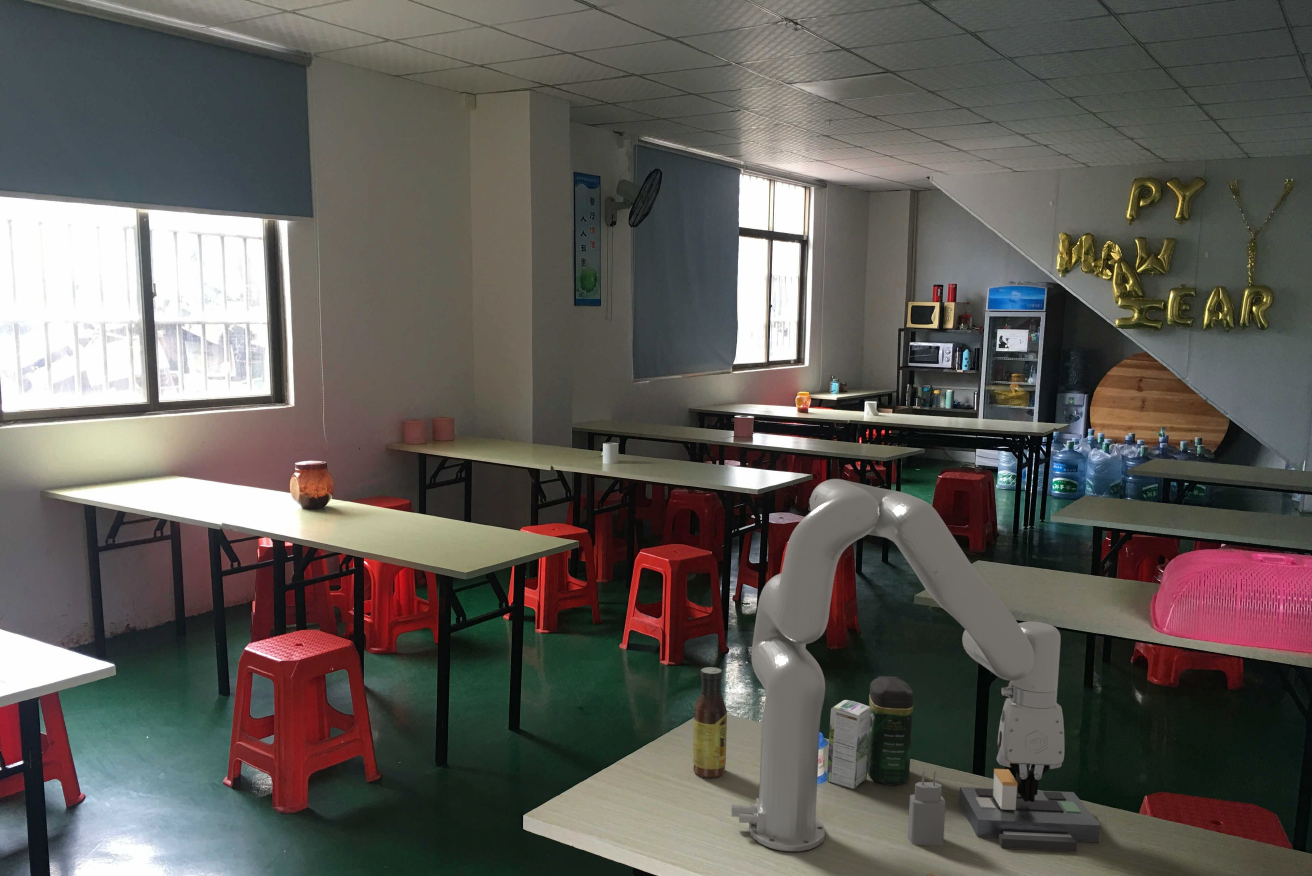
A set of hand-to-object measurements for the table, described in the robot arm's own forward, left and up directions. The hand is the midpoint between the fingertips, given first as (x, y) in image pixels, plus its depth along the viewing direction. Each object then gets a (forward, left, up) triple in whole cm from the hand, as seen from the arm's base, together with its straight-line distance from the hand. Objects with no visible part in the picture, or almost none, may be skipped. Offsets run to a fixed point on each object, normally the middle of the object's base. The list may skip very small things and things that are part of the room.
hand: (1026, 797), depth 169 cm
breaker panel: (0, 0, -4) cm, 4 cm away
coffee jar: (-21, +16, -5) cm, 27 cm away
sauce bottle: (-55, +14, -5) cm, 57 cm away
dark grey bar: (-1, -9, -4) cm, 10 cm away
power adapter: (-19, -8, -5) cm, 21 cm away
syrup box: (-29, +13, -5) cm, 32 cm away
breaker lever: (-4, 0, -1) cm, 4 cm away
